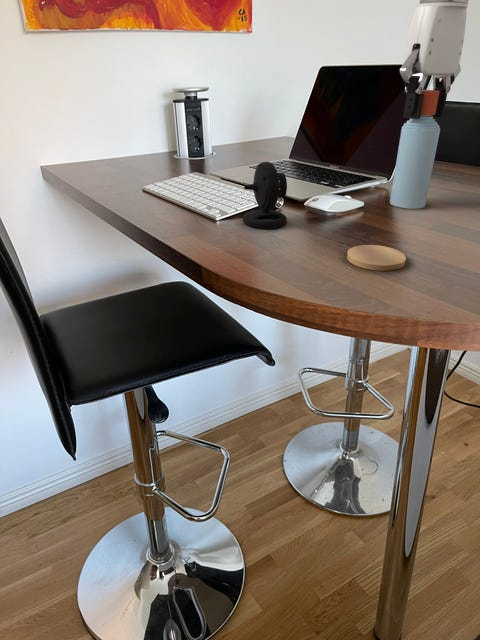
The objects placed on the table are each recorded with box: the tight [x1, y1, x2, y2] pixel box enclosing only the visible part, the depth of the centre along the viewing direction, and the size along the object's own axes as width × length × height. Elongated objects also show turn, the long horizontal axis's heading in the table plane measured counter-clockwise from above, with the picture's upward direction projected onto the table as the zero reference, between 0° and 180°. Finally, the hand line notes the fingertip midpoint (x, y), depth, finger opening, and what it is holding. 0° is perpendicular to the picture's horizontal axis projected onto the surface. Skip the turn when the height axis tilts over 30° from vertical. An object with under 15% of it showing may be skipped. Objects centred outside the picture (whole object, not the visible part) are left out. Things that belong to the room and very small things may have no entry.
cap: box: [421, 89, 439, 115], centre depth 88 cm, size 4×4×4 cm
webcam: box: [242, 161, 288, 230], centre depth 82 cm, size 8×8×10 cm
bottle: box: [389, 115, 441, 210], centre depth 92 cm, size 7×7×20 cm
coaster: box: [346, 244, 407, 272], centre depth 70 cm, size 8×8×1 cm
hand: (423, 116), depth 89 cm, fingers open, 5 cm apart
